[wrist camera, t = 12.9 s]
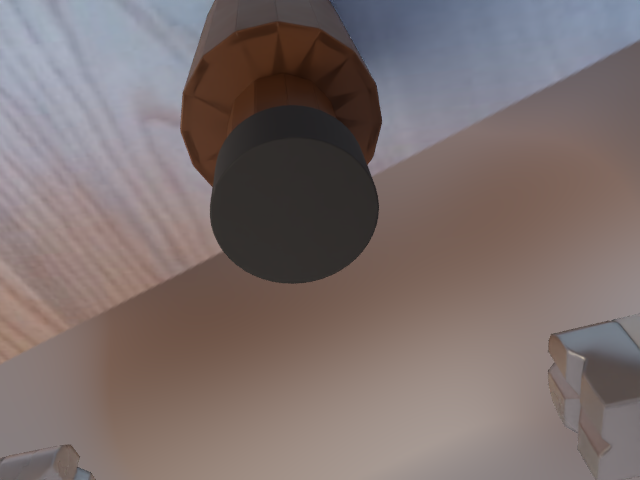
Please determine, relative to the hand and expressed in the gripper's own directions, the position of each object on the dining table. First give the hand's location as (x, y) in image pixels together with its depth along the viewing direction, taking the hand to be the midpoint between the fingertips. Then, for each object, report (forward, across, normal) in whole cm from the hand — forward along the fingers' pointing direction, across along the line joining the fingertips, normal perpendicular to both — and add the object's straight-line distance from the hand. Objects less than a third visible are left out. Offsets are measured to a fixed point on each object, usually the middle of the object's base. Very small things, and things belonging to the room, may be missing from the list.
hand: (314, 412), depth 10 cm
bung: (+11, 0, 0) cm, 11 cm away
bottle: (+26, 0, 0) cm, 27 cm away
